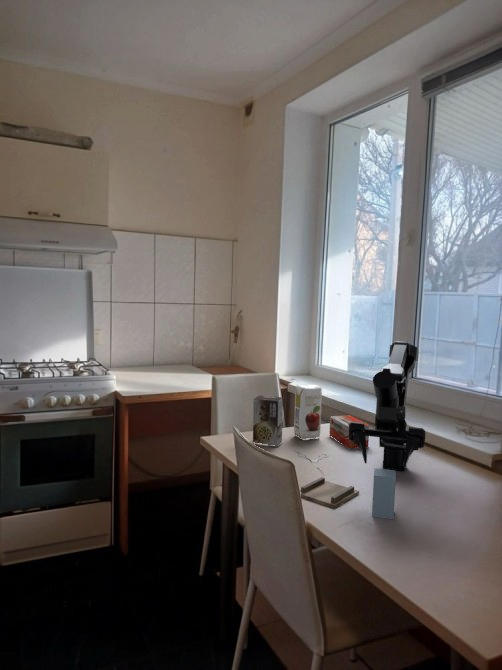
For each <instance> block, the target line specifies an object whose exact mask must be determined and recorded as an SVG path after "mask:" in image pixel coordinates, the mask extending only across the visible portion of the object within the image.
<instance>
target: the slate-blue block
mask: <svg viewBox="0 0 502 670" xmlns="http://www.w3.org/2000/svg"><path fill="white" fill-rule="evenodd" d="M396 471H397V470H391V469H383V468H378V467H377V468H374V469H373V484H372V485H373V487H372V505H371V507H372V508H371V509H372V510H371V517H375V518H381V519H383V518H384V519H390V520H394V519H395V504H396V503H395V501H396V500H395V499H396V485H397V484H396V483H397V482H396V481H397V475H396Z"/></svg>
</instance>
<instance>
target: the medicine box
mask: <svg viewBox="0 0 502 670" xmlns="http://www.w3.org/2000/svg"><path fill="white" fill-rule="evenodd" d="M351 422H362V423H365V428H370V424H368V423H366V422H364V421H362V420H360V419H358V418H356V417H355V416H352V415H350V414H349V415H334V416H333V415H332V416H330V420H329V437H330V436H332V437H333V438H335V439H336V440H337V441H339V442H340V443H342V444H343V445H344V447H345V446H346V447H347V448H346V447H345V448H346V449H348V448H351V449H360V448H359V446H358V444H354V441H350V440H349V424H350V423H351ZM365 437H366V448H368V447H369V440H370V438H369V437H370V436H365ZM337 441H336V442H337ZM339 442H338V443H339ZM340 443H339V444H340ZM342 444H341V445H342ZM343 445H342V446H343Z"/></svg>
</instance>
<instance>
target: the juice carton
mask: <svg viewBox="0 0 502 670" xmlns="http://www.w3.org/2000/svg"><path fill="white" fill-rule="evenodd" d="M322 391H323V390H322V387H321V386H319V385H316V384H305V385H302V384H296V387H295V392H294V393H295V394H294V397H295V398H294V416H293V417H294V421H293V424H294V425H293V433H294V436H295V435H297V436H299V437H300V438H302V439H306V438H316V437H319V438H320V437H321V436H320V435H321V423H322V422H321V421H322V401H323V400H322V399H323V397H322V395H323V393H322Z"/></svg>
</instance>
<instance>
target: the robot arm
mask: <svg viewBox="0 0 502 670" xmlns="http://www.w3.org/2000/svg"><path fill="white" fill-rule="evenodd" d="M388 354H389V355H388V356H389V359H388V362H387V365H385V366H383V367H381V369H380V370H379V372H376V373H375V374H374V376H373V377H372V384H373V390H374V395H375V398H376V401H375V403H376V404H375V405H376V407H375V417H374V428H370V427H369V428H365V423H366V422H364V423H362V422H363V421H362V422H351V423H350V424H349V440H350V441H354V444H358V446H359V448H358V449H360V452H361V455H362V458H363V462H364V464H367V462H368V454H367V447H366V437H365V436H369V437H373V438H374V437H375V438H379V440H378V442H379V443H378V444H379V445H378V446H379V448H383V458H382V469H386V470H395V471H401V472H402V471H403V472H405V471H406V468H408V467H407V466H408V465H407V464H408V462H409V459H410V458H411V455H412V454H413V452H414V451H418V450H419V449H423V448H424V446H425V442H426V430H425V429H424V428H423V427H415V426H414V427H413V426H409V427H408V423H407V421H406V401H407V393H408V385H409V378H410V377H409V376H410V373H412V371H413V370H414V369H415V368H416V362H418V361H419V349H418V347H417V346H415V345H413V344H411V342H408V341H400V340H395V341H393V342H392V343H391V344H390V345H389V353H388Z"/></svg>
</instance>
